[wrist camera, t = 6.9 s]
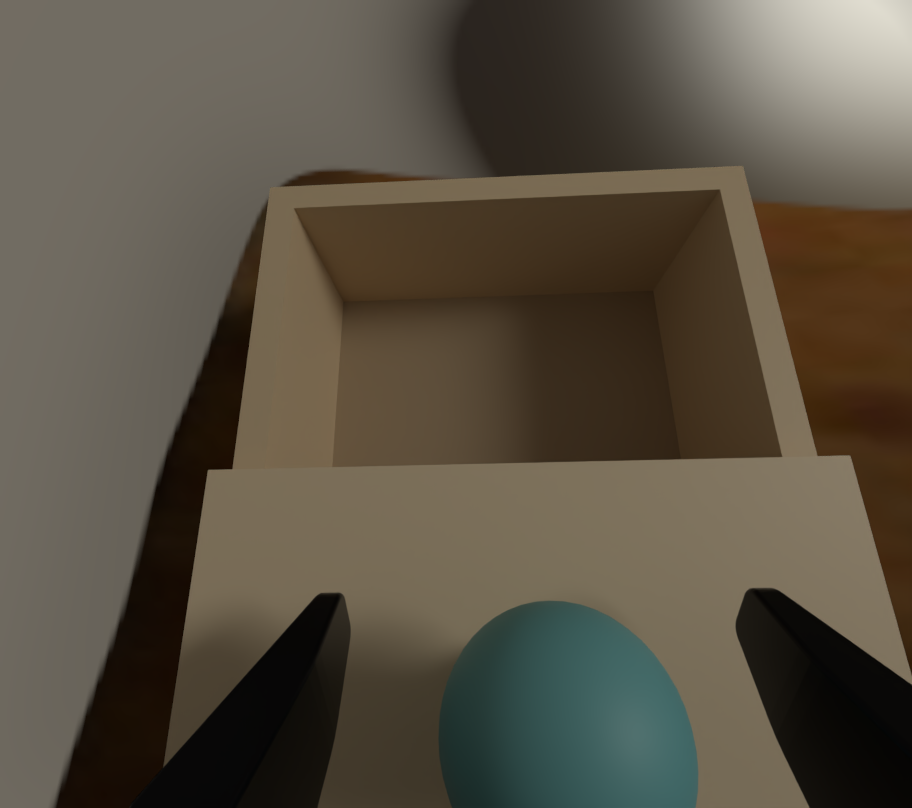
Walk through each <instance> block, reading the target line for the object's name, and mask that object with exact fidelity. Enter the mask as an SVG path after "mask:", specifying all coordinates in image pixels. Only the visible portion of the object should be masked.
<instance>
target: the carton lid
mask: <svg viewBox="0 0 912 808" xmlns="http://www.w3.org/2000/svg"><path fill="white" fill-rule="evenodd" d="M749 588H774V589H777V590H779V591H781V592H782V593H784V594H785V595H786V596H788V597H789V598H791V599H792V600H793V601H795V602H796V603H798V604H799V605H801V606H802V607H803V608H805V609H806V610H808V611H809V612H810V613H812V614H813V615H815V616H816V617H817V618H819V619H820V620H822V621H823V622H824V623H826V624H827V625H829V626H830V627H831V628H833V629H834V630H836V631H837V632H839V633H840V634H841V635H843V636H844V637H846V638H847V639H848V640H850V641H851V642H853V643H854V644H855V645H857V646H858V647H860V648H861V649H862V650H864V651H865V652H867V653H868V654H869V655H871V656H872V657H874V658H875V659H876V660H878V661H879V662H881V663H882V664H884V665H885V666H886V667H888V668H889V669H891V670H892V671H893V672H895V673H896V674H898V675H899V676H900V677H902V678H903V679H905V680H906V681H907V682H909V683H910V684H912V676H911V672H910V668H909V665H908V661H907V658H906V654H905V650H904V647H903V643H902V640H901V636H900V633H899V629H898V625H897V622H896V618H895V615H894V611H893V607H892V604H891V600H890V597H889V593H888V590H887V586H886V582H885V579H884V575H883V572H882V568H881V564H880V561H879V557H878V554H877V550H876V546H875V543H874V539H873V536H872V532H871V529H870V525H869V521H868V518H867V514H866V511H865V507H864V503H863V500H862V496H861V493H860V489H859V485H858V482H857V478H856V475H855V471H854V468H853V464H852V460H851V457H850V456H811V457H766V458H721V459H676V460H631V461H586V462H541V463H496V464H451V465H407V466H362V467H317V468H272V469H227V470H208V474H207V480H206V487H205V494H204V500H203V507H202V513H201V520H200V527H199V533H198V540H197V547H196V553H195V560H194V567H193V573H192V580H191V586H190V593H189V600H188V606H187V613H186V620H185V626H184V633H183V639H182V646H181V653H180V659H179V666H178V673H177V679H176V686H175V693H174V699H173V706H172V712H171V719H170V726H169V732H168V739H167V746H166V752H165V759H164V765H163V767H164V766H165V765H166V764H167V763H168V762H169V760H170V759H171V758H172V757H173V756H174V755H175V754H176V753H177V751H178V750H179V749H180V748H181V747H182V746H183V745H184V744H185V743H186V741H187V740H188V739H189V738H190V737H191V736H192V735H193V734H194V732H195V731H196V730H197V729H198V728H199V727H200V726H201V725H202V723H203V722H204V721H205V720H206V719H207V718H208V717H209V716H210V714H211V713H212V712H213V711H214V710H215V709H216V708H217V707H218V705H219V704H220V703H221V702H222V701H223V700H224V699H225V698H226V696H227V695H228V694H229V693H230V692H231V691H232V690H233V689H234V687H235V686H236V685H237V684H238V683H239V682H240V681H241V680H242V678H243V677H244V676H245V675H246V674H247V673H248V672H249V671H250V669H251V668H252V667H253V666H254V665H255V664H256V663H257V662H258V660H259V659H260V658H261V657H262V656H263V655H264V654H265V653H266V651H267V650H268V649H269V648H270V647H271V646H272V645H273V644H274V642H275V641H276V640H277V639H278V638H279V637H280V636H281V635H282V633H283V632H284V631H285V630H286V629H287V628H288V627H289V626H290V624H291V623H292V622H293V621H294V620H295V619H296V618H297V617H298V615H299V614H300V613H301V612H302V611H303V610H304V609H305V608H306V606H307V605H308V604H309V603H310V602H311V601H312V600H313V599H314V597H315V596H317V595H318V594H320V593H329V592H339V593H342V594H343V595H344V597H345V601H346V606H347V610H348V615H349V620H350V625H351V637H350V645H349V651H348V658H347V664H346V671H345V677H344V684H343V691H342V697H341V704H340V710H339V717H338V723H337V729H336V735H335V740H334V744H333V748H332V753H331V757H330V761H329V765H328V769H327V773H326V776H325V780H324V784H323V788H322V792H321V796H320V800H319V804H318V808H809V806H808V804H807V802H806V800H805V798H804V795H803V793H802V791H801V789H800V787H799V785H798V783H797V781H796V779H795V777H794V775H793V773H792V771H791V769H790V767H789V765H788V762H787V760H786V758H785V756H784V754H783V752H782V750H781V748H780V746H779V743H778V741H777V739H776V737H775V734H774V732H773V729H772V727H771V725H770V722H769V720H768V717H767V714H766V712H765V709H764V706H763V704H762V701H761V698H760V696H759V693H758V690H757V688H756V685H755V682H754V680H753V677H752V675H751V672H750V669H749V667H748V664H747V661H746V659H745V656H744V653H743V651H742V648H741V645H740V643H739V640H738V637H737V634H736V628H735V623H736V618H737V615H738V612H739V609H740V606H741V603H742V600H743V597H744V594H745V592H746V591H747V590H748V589H749Z"/></svg>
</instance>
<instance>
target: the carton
mask: <svg viewBox="0 0 912 808" xmlns="http://www.w3.org/2000/svg"><path fill="white" fill-rule="evenodd" d="M811 456H817V453H816V449H815V445H814V441H813V437H812V434H811V430H810V426H809V422H808V418H807V414H806V410H805V406H804V402H803V398H802V395H801V391H800V387H799V383H798V379H797V375H796V371H795V367H794V363H793V359H792V356H791V352H790V348H789V344H788V340H787V336H786V332H785V328H784V324H783V321H782V317H781V313H780V309H779V305H778V301H777V297H776V293H775V289H774V285H773V282H772V278H771V274H770V270H769V266H768V262H767V258H766V254H765V250H764V246H763V243H762V239H761V235H760V231H759V227H758V223H757V219H756V215H755V211H754V208H753V204H752V200H751V196H750V192H749V188H748V184H747V180H746V177H745V173H744V169H743V166H730V167H708V168H686V169H664V170H642V171H620V172H598V173H577V174H557V175H556V174H555V175H534V176H512V177H489V178H467V179H445V180H423V181H401V182H379V183H357V184H336V185H314V186H292V187H271V188H270V194H269V201H268V209H267V216H266V224H265V231H264V238H263V246H262V253H261V261H260V268H259V276H258V283H257V290H256V298H255V305H254V313H253V320H252V328H251V335H250V342H249V350H248V357H247V365H246V372H245V379H244V387H243V394H242V402H241V409H240V417H239V424H238V431H237V439H236V446H235V454H234V461H233V469H272V468H317V467H362V466H407V465H451V464H496V463H541V462H586V461H631V460H676V459H721V458H766V457H811Z"/></svg>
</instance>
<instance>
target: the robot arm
mask: <svg viewBox="0 0 912 808" xmlns="http://www.w3.org/2000/svg"><path fill="white" fill-rule="evenodd" d="M735 628H736V634H737V637H738V640H739V643H740V645H741V648H742V651H743V653H744V656H745V659H746V661H747V664H748V667H749V669H750V672H751V675H752V677H753V680H754V682H755V685H756V688H757V690H758V693H759V696H760V698H761V701H762V704H763V706H764V709H765V712H766V714H767V717H768V720H769V722H770V725H771V727H772V729H773V732H774V734H775V737H776V739H777V741H778V743H779V746H780V748H781V750H782V752H783V754H784V756H785V758H786V760H787V762H788V765H789V767H790V769H791V771H792V773H793V775H794V777H795V779H796V781H797V783H798V785H799V787H800V789H801V791H802V793H803V795H804V798H805V800H806V802H807V804H808V806H809V808H912V684H910V683H909V682H907V681H906V680H905V679H903V678H902V677H900V676H899V675H898V674H896V673H895V672H893V671H892V670H891V669H889V668H888V667H886V666H885V665H884V664H882V663H881V662H879V661H878V660H876V659H875V658H874V657H872V656H871V655H869V654H868V653H867V652H865V651H864V650H862V649H861V648H860V647H858V646H857V645H855V644H854V643H853V642H851V641H850V640H848V639H847V638H846V637H844V636H843V635H841V634H840V633H839V632H837V631H836V630H834V629H833V628H831V627H830V626H829V625H827V624H826V623H824V622H823V621H822V620H820V619H819V618H817V617H816V616H815V615H813V614H812V613H810V612H809V611H808V610H806V609H805V608H803V607H802V606H801V605H799V604H798V603H796V602H795V601H793V600H792V599H791V598H789V597H788V596H786V595H785V594H784V593H782V592H781V591H779V590H777V589H774V588H749V589H748V590H747V591H746V592H745V594H744V597H743V600H742V603H741V606H740V609H739V612H738V615H737V618H736V623H735ZM350 637H351V625H350V620H349V615H348V610H347V606H346V601H345V597H344V595H343V594H342V593H339V592H329V593H320V594H318V595H317V596H315V597H314V599H313V600H312V601H311V602H310V603H309V604H308V605H307V606H306V608H305V609H304V610H303V611H302V612H301V613H300V614H299V615H298V617H297V618H296V619H295V620H294V621H293V622H292V623H291V624H290V626H289V627H288V628H287V629H286V630H285V631H284V632H283V633H282V635H281V636H280V637H279V638H278V639H277V640H276V641H275V642H274V644H273V645H272V646H271V647H270V648H269V649H268V650H267V651H266V653H265V654H264V655H263V656H262V657H261V658H260V659H259V660H258V662H257V663H256V664H255V665H254V666H253V667H252V668H251V669H250V671H249V672H248V673H247V674H246V675H245V676H244V677H243V678H242V680H241V681H240V682H239V683H238V684H237V685H236V686H235V687H234V689H233V690H232V691H231V692H230V693H229V694H228V695H227V696H226V698H225V699H224V700H223V701H222V702H221V703H220V704H219V705H218V707H217V708H216V709H215V710H214V711H213V712H212V713H211V714H210V716H209V717H208V718H207V719H206V720H205V721H204V722H203V723H202V725H201V726H200V727H199V728H198V729H197V730H196V731H195V732H194V734H193V735H192V736H191V737H190V738H189V739H188V740H187V741H186V743H185V744H184V745H183V746H182V747H181V748H180V749H179V750H178V751H177V753H176V754H175V755H174V756H173V757H172V758H171V759H170V760H169V762H168V763H167V764H166V765H165V766H164V767H163V768H162V769H161V771H160V772H159V773H158V774H157V775H156V776H155V777H154V778H153V780H152V781H151V782H150V783H149V784H148V785H147V786H146V787H145V789H144V790H143V791H142V792H141V793H140V794H139V795H138V796H137V798H136V799H135V800H134V801H133V802H132V803H131V805H130V808H318V804H319V800H320V796H321V792H322V788H323V784H324V780H325V776H326V773H327V769H328V765H329V761H330V757H331V753H332V748H333V744H334V740H335V735H336V729H337V723H338V717H339V710H340V704H341V697H342V691H343V684H344V677H345V671H346V664H347V658H348V651H349V645H350Z"/></svg>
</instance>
